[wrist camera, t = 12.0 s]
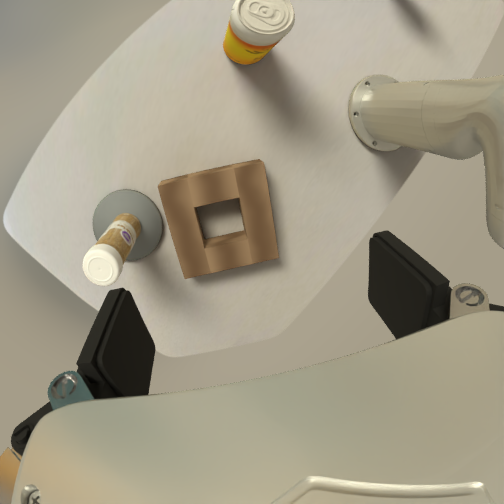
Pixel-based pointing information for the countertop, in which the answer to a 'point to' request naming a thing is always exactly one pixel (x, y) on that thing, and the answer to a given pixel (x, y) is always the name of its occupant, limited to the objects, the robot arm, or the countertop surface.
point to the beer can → (256, 28)
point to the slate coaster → (136, 206)
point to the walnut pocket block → (211, 191)
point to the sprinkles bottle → (111, 250)
